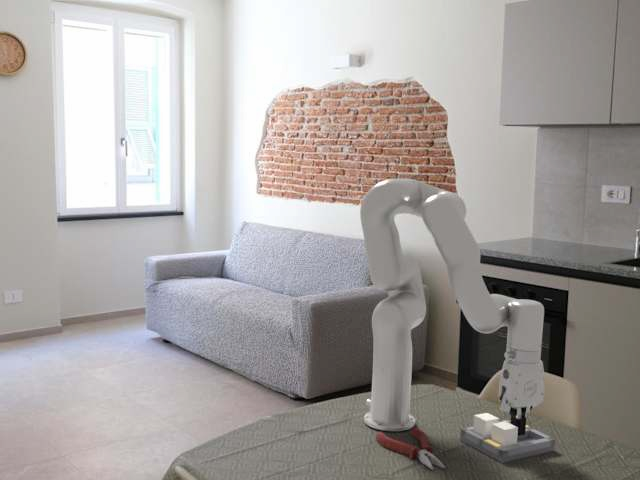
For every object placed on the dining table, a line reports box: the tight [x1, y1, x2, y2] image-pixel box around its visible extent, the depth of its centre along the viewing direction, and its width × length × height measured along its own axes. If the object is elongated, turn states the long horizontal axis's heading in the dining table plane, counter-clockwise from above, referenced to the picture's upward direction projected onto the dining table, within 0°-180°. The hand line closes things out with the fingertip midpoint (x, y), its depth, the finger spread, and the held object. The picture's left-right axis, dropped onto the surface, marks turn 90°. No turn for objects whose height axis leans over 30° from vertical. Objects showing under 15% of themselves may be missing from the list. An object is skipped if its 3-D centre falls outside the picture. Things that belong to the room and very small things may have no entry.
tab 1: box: [472, 412, 500, 438], centre depth 172 cm, size 4×4×5 cm
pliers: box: [375, 427, 446, 471], centre depth 166 cm, size 12×20×3 cm, turn 21°
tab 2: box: [491, 421, 518, 447], centre depth 167 cm, size 4×4×5 cm
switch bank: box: [459, 418, 556, 463], centre depth 172 cm, size 14×16×3 cm
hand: (517, 433), depth 169 cm, fingers closed
